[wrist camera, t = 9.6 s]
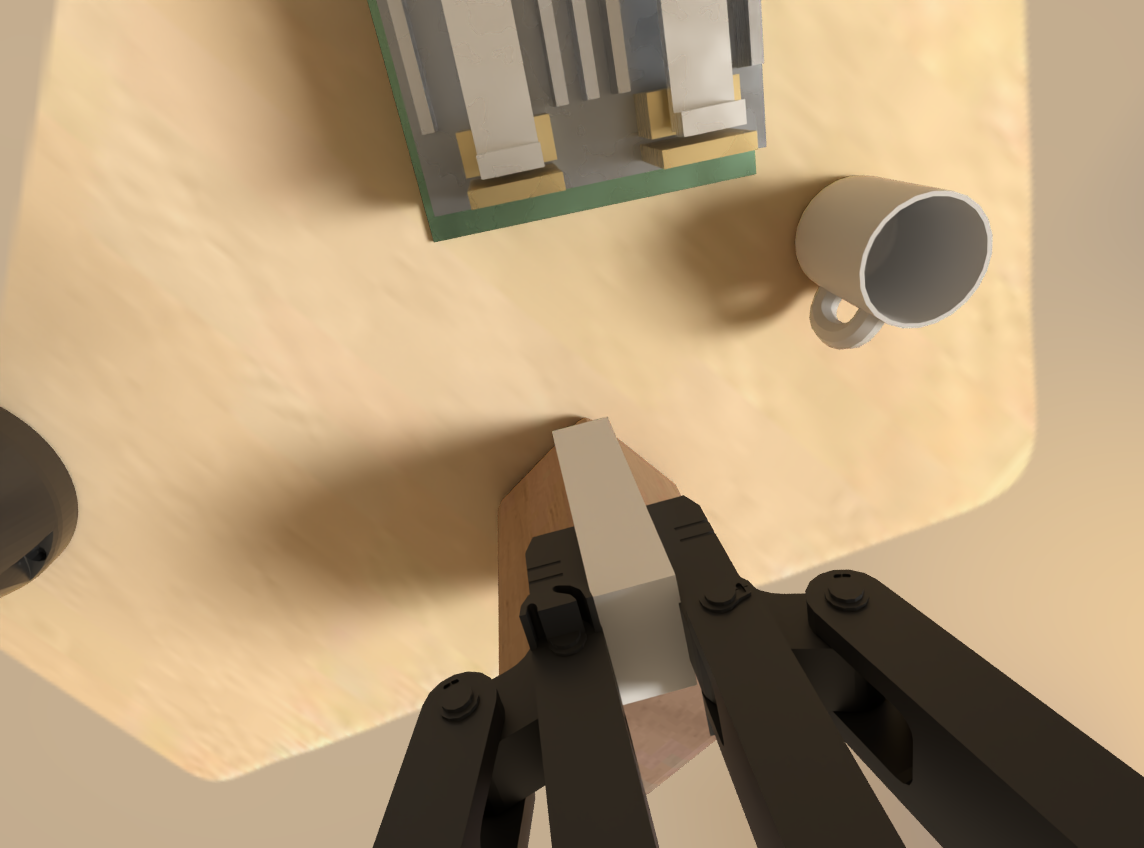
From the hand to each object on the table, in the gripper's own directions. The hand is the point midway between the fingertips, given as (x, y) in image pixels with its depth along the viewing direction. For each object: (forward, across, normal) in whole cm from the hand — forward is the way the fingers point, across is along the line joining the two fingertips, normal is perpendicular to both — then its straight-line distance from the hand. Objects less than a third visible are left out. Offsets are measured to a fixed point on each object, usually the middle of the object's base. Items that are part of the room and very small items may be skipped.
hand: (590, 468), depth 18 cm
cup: (+27, +20, -4) cm, 33 cm away
